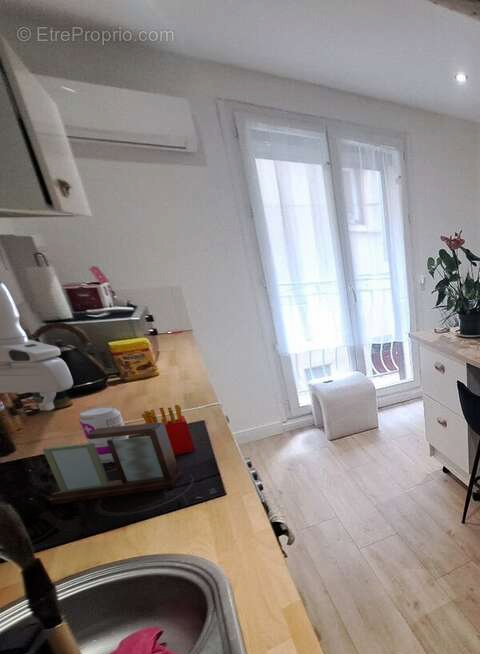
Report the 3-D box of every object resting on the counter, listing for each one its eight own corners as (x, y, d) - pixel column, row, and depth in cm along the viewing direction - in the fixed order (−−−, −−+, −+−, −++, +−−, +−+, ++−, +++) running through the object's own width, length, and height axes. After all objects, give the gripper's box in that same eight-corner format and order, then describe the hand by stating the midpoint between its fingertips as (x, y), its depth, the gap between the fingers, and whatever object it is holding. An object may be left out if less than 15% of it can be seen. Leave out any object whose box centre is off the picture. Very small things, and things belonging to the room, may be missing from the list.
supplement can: (101, 467, 116) (82, 418, 111) (92, 459, 120) (73, 412, 115) (138, 455, 123) (122, 409, 117) (128, 448, 127) (112, 403, 121)
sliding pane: (61, 493, 101) (42, 449, 96) (64, 491, 101) (44, 447, 97) (108, 487, 104) (91, 444, 100) (110, 485, 105) (93, 442, 100)
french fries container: (153, 453, 124) (139, 410, 119) (191, 444, 130) (179, 403, 126) (156, 461, 120) (141, 417, 115) (195, 451, 126) (183, 409, 121)
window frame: (51, 505, 99) (22, 443, 93) (67, 492, 104) (41, 432, 98) (172, 487, 107) (153, 429, 101) (181, 476, 113) (164, 420, 107)
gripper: (-79, 353, 84) (-51, 416, 88) (42, 353, 88) (63, 413, 92) (-44, 347, 89) (-20, 406, 94) (68, 347, 94) (86, 404, 98)
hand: (22, 410), depth 93 cm, fingers open, 8 cm apart
